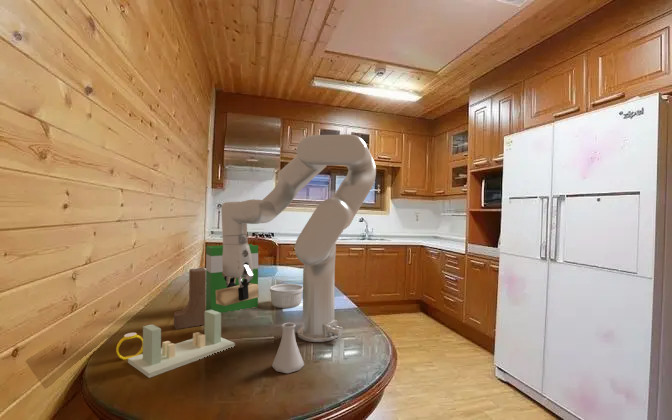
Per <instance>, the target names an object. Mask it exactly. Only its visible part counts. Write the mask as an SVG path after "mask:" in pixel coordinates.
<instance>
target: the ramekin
mask: <svg viewBox="0 0 672 420" xmlns="http://www.w3.org/2000/svg"><path fill="white" fill-rule="evenodd" d="M269 291H270V299H271V304H272V306H274V307H276V308H279V309H280V308H281V309H289V308H290V309H291V308H295V307H298V306H300V304H302V303H301V302H302V300H303V285H301V284H296V283H281V284H280V283H279V284H275V285H271V286H270V287H269Z"/></svg>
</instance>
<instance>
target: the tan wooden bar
mask: <svg viewBox="0 0 672 420" xmlns="http://www.w3.org/2000/svg"><path fill="white" fill-rule="evenodd" d="M239 287H240V286H239V285H238V286H234V287H229V288H225V289H220V290H216V304H220V305H223V306H226V305H230V304H234V303H238V302H241V301H240V300H239V291H238V288H239ZM248 295H249V298H248V299H245V300H249V299H253V298H257V297H258V298H259V283H258V284H252V283H249V286H248ZM245 300H242V301H245Z"/></svg>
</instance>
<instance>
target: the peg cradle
mask: <svg viewBox="0 0 672 420" xmlns="http://www.w3.org/2000/svg"><path fill="white" fill-rule="evenodd" d="M142 339H143V352H142V353H141V354H140V355H138V356H134V357H131V358H128V359H127V363H128V364H129V365H130V366H132V367H133V368H135V369H136V370H138V371H139V372H140V373H142V374H143V375H144V376H145V377H147V378H149V379H150V378H153V377H155V376H158V375H161V374H163V373H166V372H170V371H172V370H175V369H177V368H179V367H182V366H186V365H188V364H192V363H194V362H197V361H199V359H200V360H202V359H205V358H207V356H208V357H210V356H213V355H215V354H214V353H216V354H218V353H217V352H219V353H221V352H223V350H224V351H227V350H229V349H228V348H230V349H232V348H234V346H235V347H236V343H235V342H233V341H231V340H229V339H226V338H224V337H222V313H220V312H217V311H214V310H206V311H205V325H204V334H203V333H201V332H200V331H196V332H193V333H192V338H190V339H187V340H183V341H181V342H177V343H173V342H172V341H170V340H166V341H162V329H161V328H160V327H158V326H156V325H155V324H148V325H143V326H142ZM231 347H232V348H231ZM226 349H227V350H226ZM220 351H221V352H220ZM212 354H213V355H212ZM209 355H210V356H209ZM204 357H205V358H204Z"/></svg>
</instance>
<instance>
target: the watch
mask: <svg viewBox="0 0 672 420" xmlns="http://www.w3.org/2000/svg"><path fill="white" fill-rule="evenodd" d="M135 338H137V339H139V340H141V347H140V349H139V351H138V352H137V353H136V354H132V355H126V356H124V355H122V354H120V352H119V350H120V346H121V345H122V343H123V342H124V341H127V340H131V339H135ZM115 351H116V355H117V357H118V358H119V359H121V360H123V361H126V360H128V358H131V357H134V356H138V355H141V354H143V336H141V335H139V334H138V333H137V332H128V333H126V334H124V335H123V337H122V338H121V339H119V341H118V343H116V349H115Z"/></svg>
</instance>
